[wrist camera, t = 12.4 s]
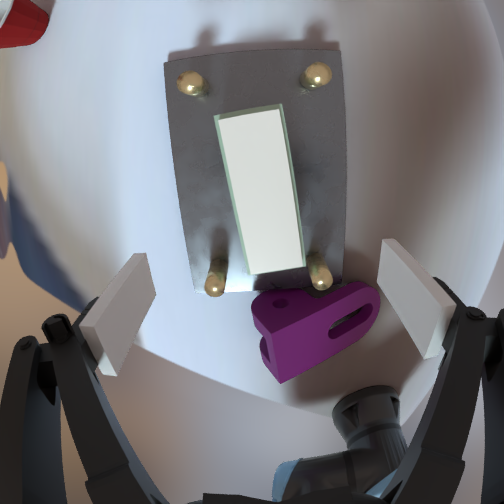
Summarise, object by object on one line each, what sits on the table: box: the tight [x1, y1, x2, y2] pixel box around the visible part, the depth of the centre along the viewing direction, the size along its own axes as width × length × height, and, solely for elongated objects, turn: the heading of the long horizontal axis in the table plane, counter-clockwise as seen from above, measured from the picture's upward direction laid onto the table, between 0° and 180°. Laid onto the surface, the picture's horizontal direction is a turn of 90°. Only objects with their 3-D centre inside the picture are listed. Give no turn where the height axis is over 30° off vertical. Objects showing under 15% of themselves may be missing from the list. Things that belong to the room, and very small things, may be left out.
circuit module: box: [214, 104, 306, 276], centre depth 30 cm, size 16×6×8 cm, turn 11°
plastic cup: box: [0, 0, 49, 48], centre depth 18 cm, size 11×11×12 cm
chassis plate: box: [164, 49, 346, 297], centre depth 32 cm, size 30×20×6 cm, turn 4°
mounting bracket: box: [251, 281, 380, 384], centre depth 41 cm, size 9×8×18 cm
